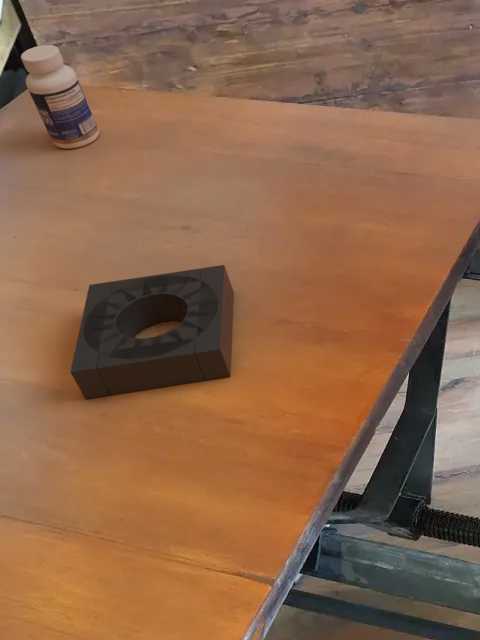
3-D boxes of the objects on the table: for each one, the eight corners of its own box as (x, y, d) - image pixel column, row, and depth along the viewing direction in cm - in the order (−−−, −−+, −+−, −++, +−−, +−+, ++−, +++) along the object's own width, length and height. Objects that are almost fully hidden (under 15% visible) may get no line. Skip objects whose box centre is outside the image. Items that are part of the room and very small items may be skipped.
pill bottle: (50, 135, 104) (10, 49, 97) (95, 122, 106) (60, 37, 98) (57, 155, 101) (17, 68, 94) (104, 141, 103) (68, 55, 95)
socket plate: (85, 399, 74) (70, 372, 71) (102, 311, 81) (89, 284, 79) (230, 376, 74) (220, 349, 72) (233, 291, 82) (224, 264, 80)
